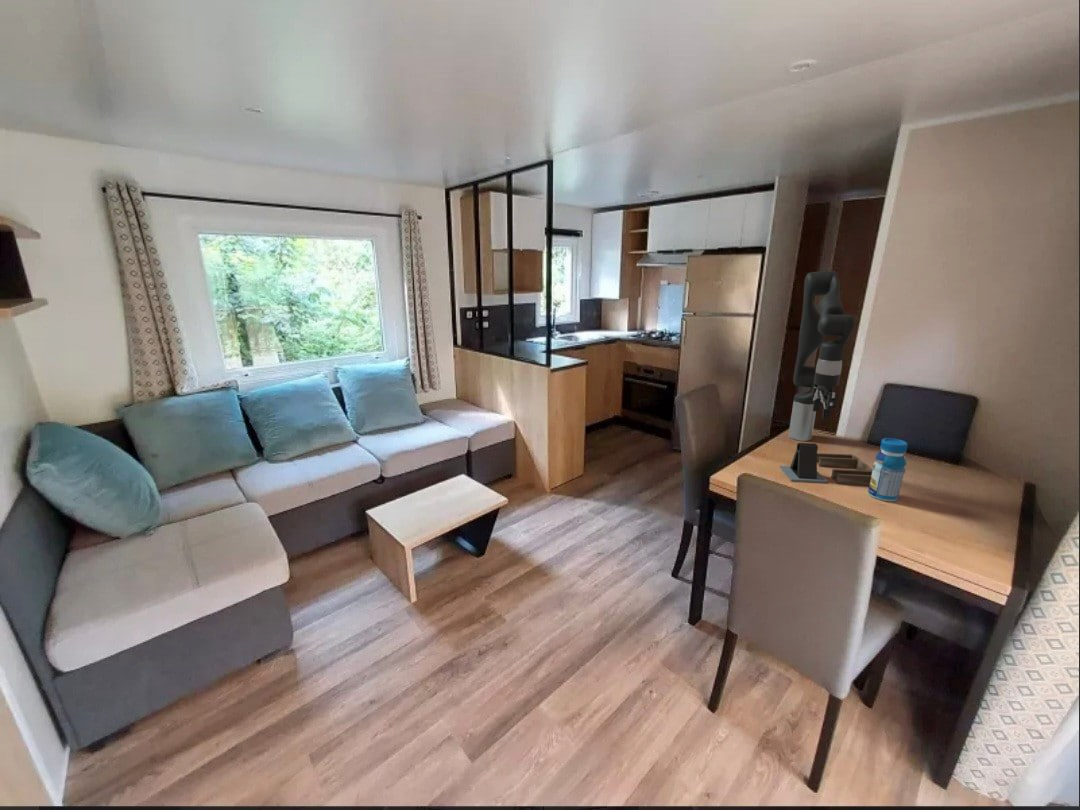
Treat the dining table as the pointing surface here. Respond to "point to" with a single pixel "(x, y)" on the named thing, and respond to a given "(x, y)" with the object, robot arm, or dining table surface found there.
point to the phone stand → (805, 461)
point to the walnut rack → (849, 461)
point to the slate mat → (793, 477)
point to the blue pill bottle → (888, 470)
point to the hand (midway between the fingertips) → (820, 414)
